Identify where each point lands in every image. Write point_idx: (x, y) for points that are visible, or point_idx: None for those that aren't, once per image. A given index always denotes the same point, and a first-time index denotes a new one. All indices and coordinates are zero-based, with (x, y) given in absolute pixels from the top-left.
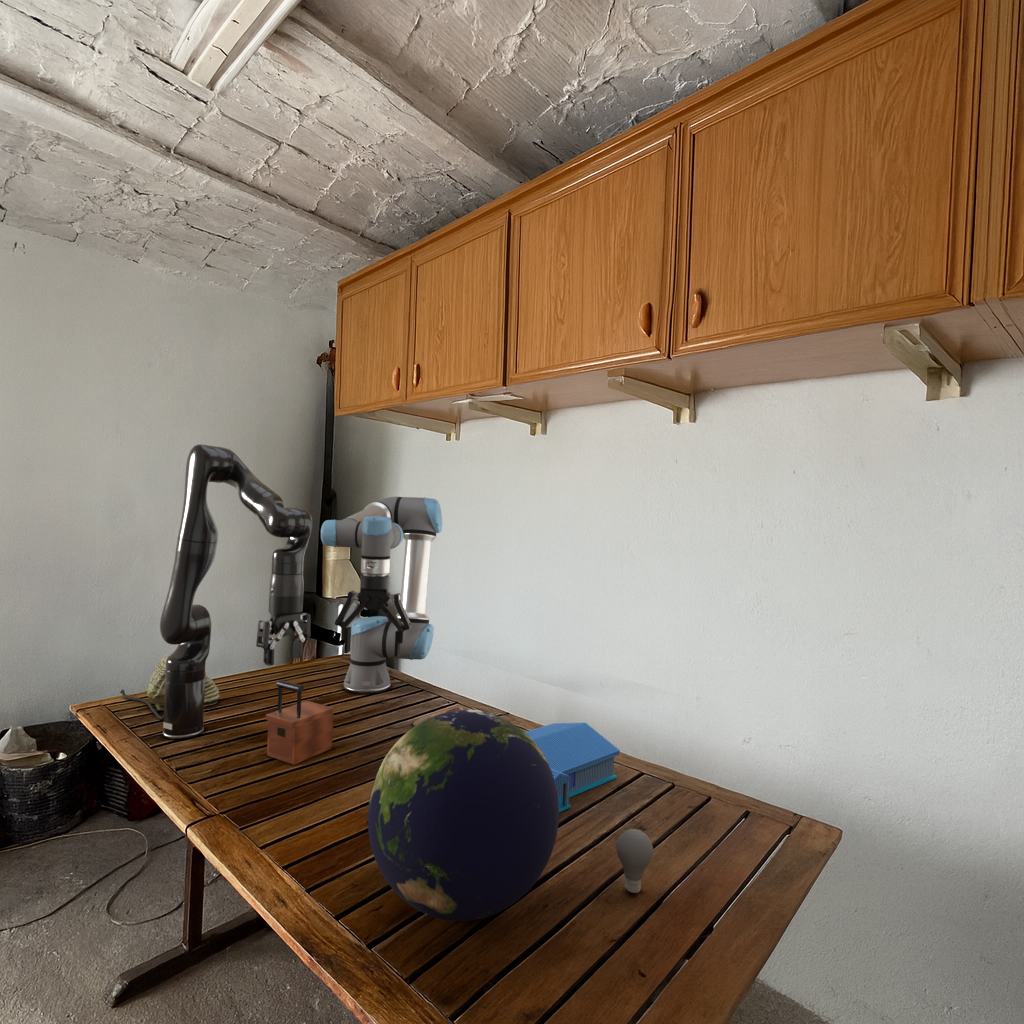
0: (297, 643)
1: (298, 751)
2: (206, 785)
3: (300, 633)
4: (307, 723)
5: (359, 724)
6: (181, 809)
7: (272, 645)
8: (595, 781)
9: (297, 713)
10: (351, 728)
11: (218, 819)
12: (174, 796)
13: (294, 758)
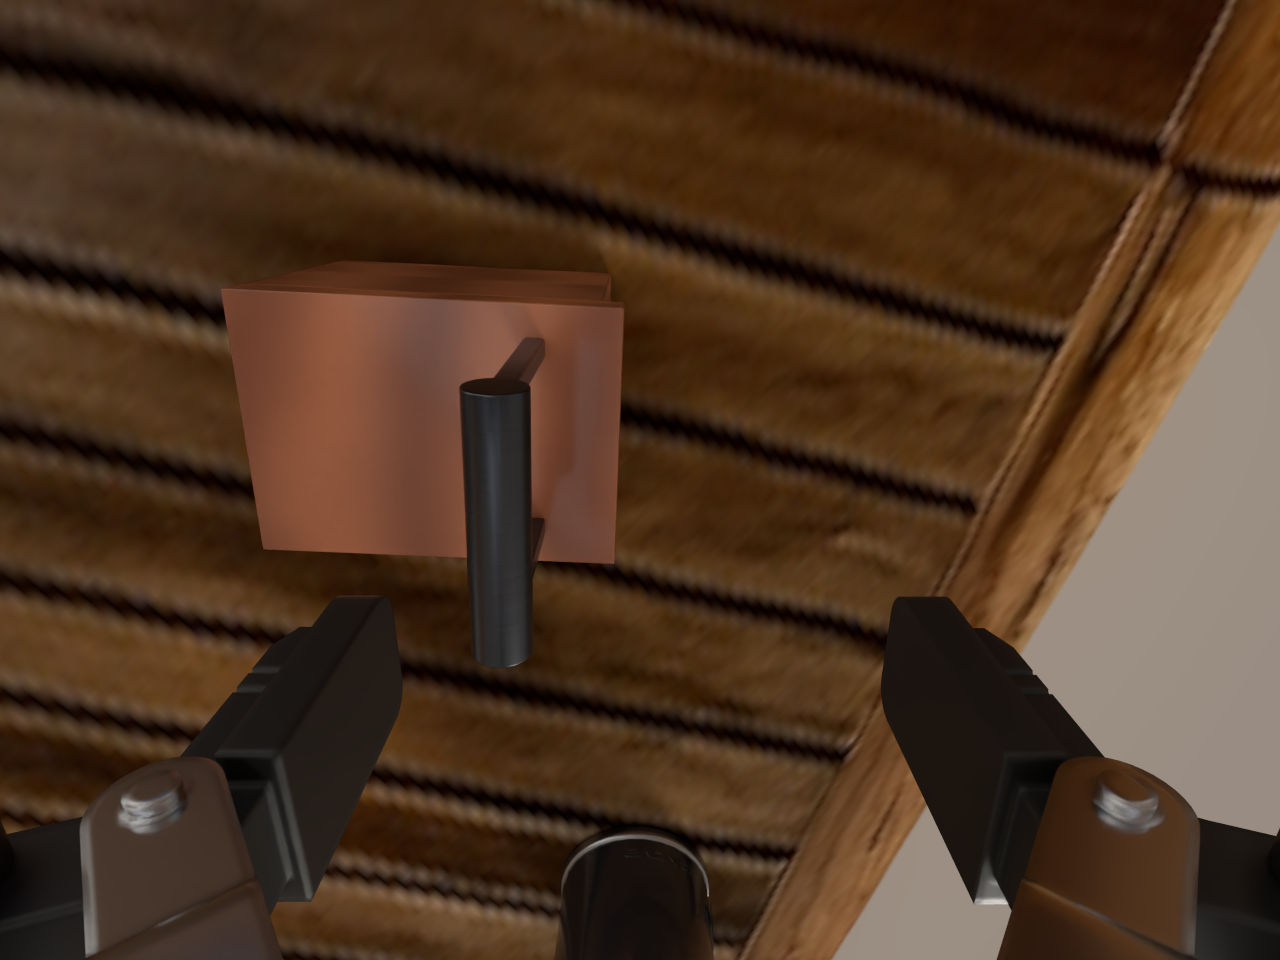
0: (296, 801)
1: (580, 278)
2: (963, 436)
3: (184, 939)
4: (496, 294)
5: (10, 378)
6: (1179, 338)
7: (1137, 827)
8: None
9: (539, 356)
10: (83, 374)
11: (1214, 117)
12: (1092, 458)
13: (609, 276)
